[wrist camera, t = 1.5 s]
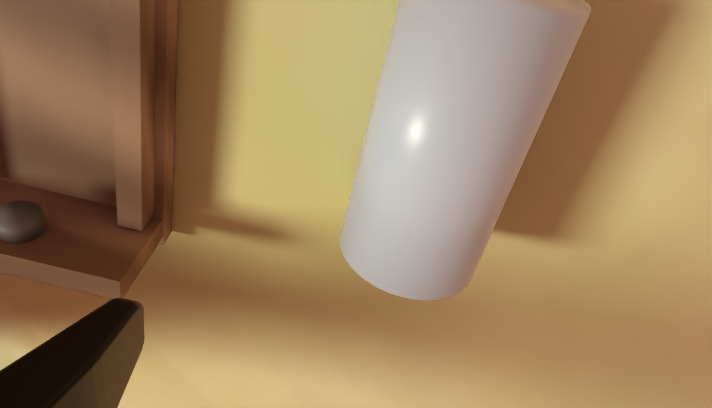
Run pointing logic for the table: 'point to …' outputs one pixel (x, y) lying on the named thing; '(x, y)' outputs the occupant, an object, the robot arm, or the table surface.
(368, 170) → the cylinder
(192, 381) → the table surface
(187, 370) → the table surface
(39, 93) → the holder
